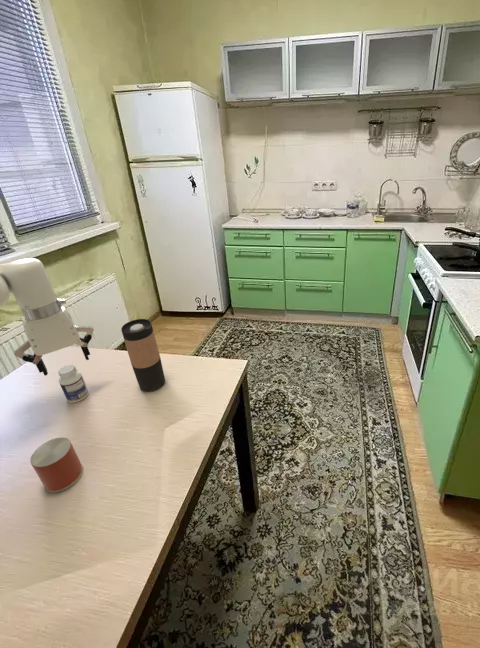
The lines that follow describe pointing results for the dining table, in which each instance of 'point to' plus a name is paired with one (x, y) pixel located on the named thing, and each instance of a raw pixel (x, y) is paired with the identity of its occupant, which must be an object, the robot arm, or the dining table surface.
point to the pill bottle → (72, 383)
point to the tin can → (57, 464)
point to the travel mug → (144, 354)
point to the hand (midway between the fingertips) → (67, 365)
